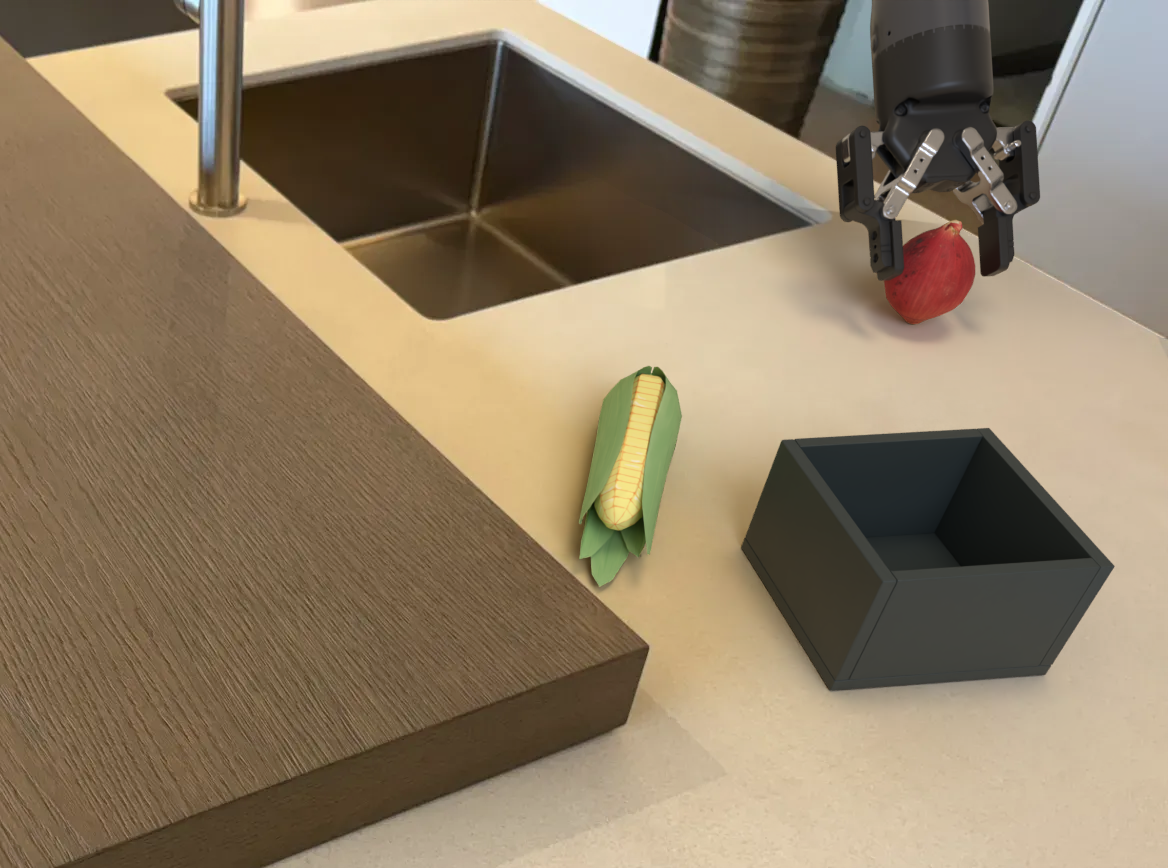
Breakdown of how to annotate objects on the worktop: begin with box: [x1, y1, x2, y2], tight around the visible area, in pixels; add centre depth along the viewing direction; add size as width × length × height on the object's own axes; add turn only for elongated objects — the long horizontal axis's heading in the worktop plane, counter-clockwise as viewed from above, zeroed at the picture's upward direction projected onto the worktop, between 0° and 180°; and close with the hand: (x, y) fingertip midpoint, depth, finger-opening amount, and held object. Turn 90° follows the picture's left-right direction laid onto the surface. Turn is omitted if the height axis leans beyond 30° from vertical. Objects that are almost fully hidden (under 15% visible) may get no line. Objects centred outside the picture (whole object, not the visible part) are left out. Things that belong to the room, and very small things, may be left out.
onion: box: [883, 219, 976, 325], centre depth 99 cm, size 6×6×8 cm
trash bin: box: [740, 427, 1116, 692], centre depth 76 cm, size 13×13×8 cm
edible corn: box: [578, 365, 683, 587], centre depth 85 cm, size 5×20×5 cm, turn 161°
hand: (943, 275), depth 98 cm, fingers open, 7 cm apart
